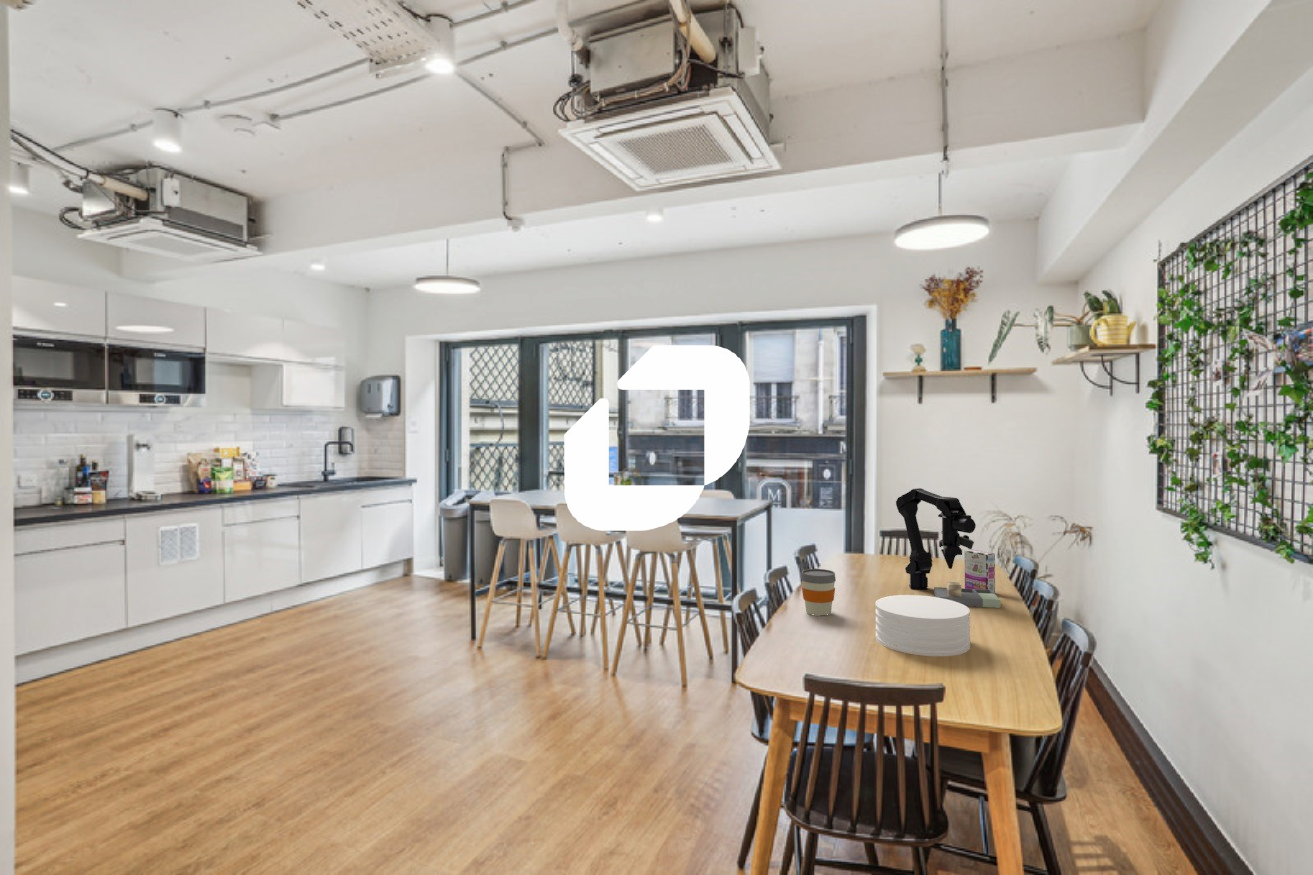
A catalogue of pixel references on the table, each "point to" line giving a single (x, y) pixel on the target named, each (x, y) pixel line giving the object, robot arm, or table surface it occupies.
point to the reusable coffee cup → (818, 590)
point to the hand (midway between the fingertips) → (950, 568)
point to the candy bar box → (979, 570)
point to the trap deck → (971, 597)
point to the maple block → (954, 589)
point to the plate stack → (923, 625)
